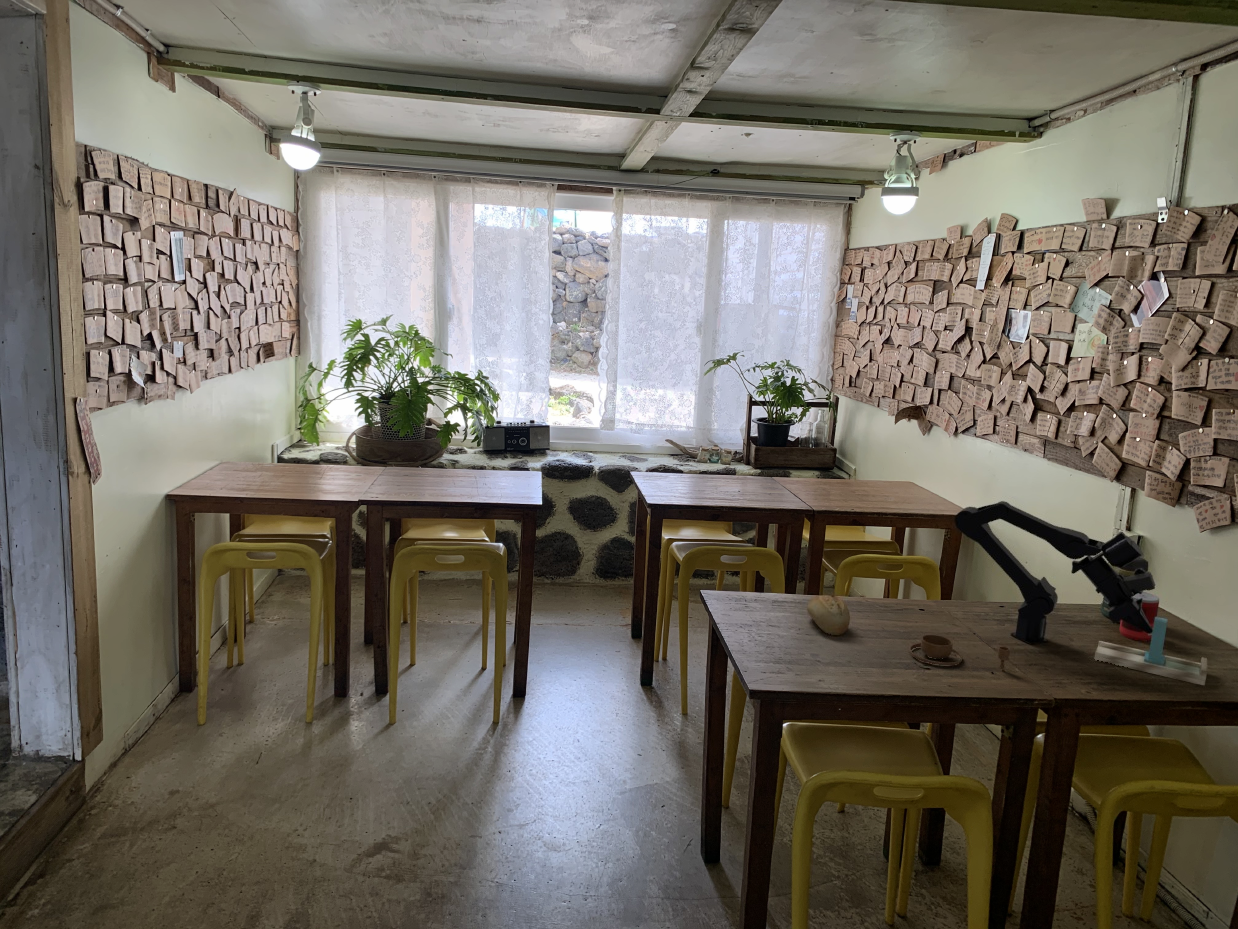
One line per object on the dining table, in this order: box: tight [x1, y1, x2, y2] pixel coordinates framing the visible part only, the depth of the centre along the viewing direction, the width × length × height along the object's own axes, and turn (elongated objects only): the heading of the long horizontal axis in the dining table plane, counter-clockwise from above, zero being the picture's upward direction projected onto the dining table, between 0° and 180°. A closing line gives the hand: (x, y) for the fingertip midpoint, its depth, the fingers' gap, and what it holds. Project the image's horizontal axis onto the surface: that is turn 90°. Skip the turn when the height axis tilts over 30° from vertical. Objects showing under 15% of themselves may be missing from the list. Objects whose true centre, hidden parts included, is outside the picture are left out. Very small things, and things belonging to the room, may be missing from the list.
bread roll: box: [806, 594, 851, 636], centre depth 218 cm, size 10×15×8 cm, turn 11°
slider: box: [1144, 616, 1168, 666], centre depth 200 cm, size 4×6×10 cm, turn 146°
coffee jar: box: [1100, 557, 1149, 623], centre depth 231 cm, size 10×8×19 cm
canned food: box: [1119, 591, 1160, 642], centre depth 220 cm, size 8×8×11 cm
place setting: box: [908, 634, 1011, 670], centre depth 198 cm, size 18×20×6 cm
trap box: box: [1093, 640, 1208, 686], centre depth 201 cm, size 22×9×4 cm, turn 56°
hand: (1151, 632), depth 200 cm, fingers closed, pressing on slider
